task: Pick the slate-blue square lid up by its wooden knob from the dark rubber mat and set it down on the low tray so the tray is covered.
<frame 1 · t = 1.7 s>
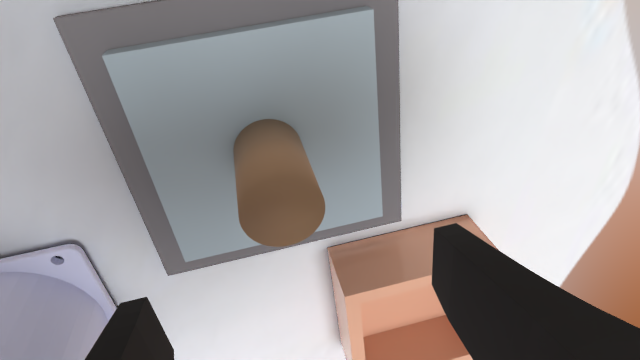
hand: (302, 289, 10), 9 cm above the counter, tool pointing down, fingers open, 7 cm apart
tray: (399, 282, 25), on the counter
mat: (265, 138, 18), on the counter
lid: (266, 142, 18), resting on mat
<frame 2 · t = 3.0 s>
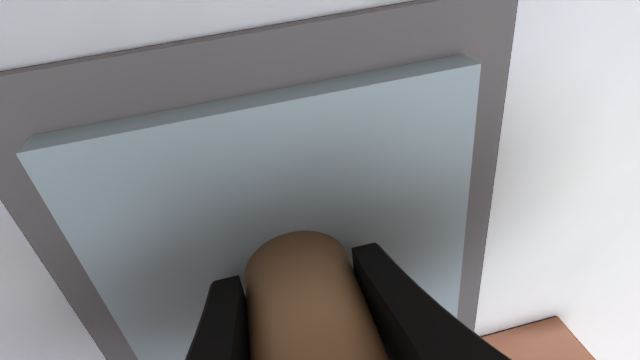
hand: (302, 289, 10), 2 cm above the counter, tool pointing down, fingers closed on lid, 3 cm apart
mat: (291, 243, 12), on the counter
lid: (293, 252, 12), resting on mat, touching gripper
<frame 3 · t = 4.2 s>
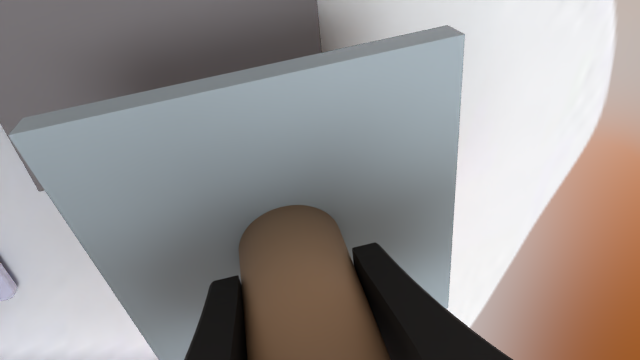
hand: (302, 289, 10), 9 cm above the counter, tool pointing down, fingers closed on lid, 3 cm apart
mat: (145, 9, 14), on the counter
lid: (286, 227, 12), point 7 cm above the counter, touching gripper
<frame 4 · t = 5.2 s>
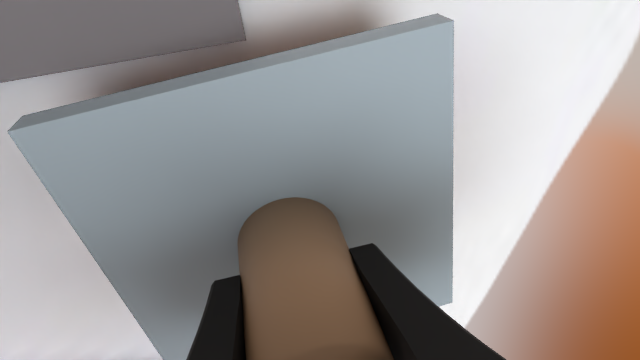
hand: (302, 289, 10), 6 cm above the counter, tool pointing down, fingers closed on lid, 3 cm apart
lid: (285, 222, 12), point 4 cm above the counter, touching tray, gripper
when the fingers open (6 cm above the counter, at t = 5.4 s): lid stays where it is, resting on tray.
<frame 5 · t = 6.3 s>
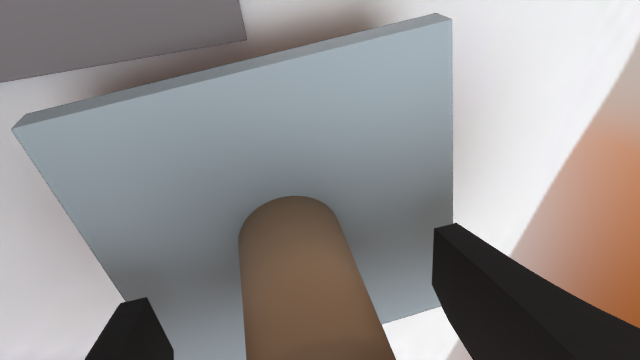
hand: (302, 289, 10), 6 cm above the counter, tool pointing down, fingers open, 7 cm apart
lid: (286, 221, 12), point 3 cm above the counter, touching tray
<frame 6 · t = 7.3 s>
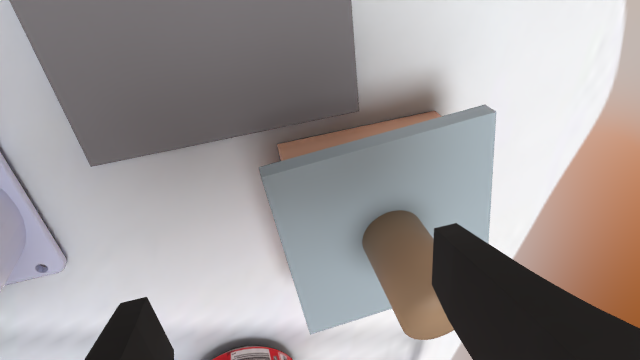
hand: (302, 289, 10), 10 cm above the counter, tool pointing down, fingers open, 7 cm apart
tray: (362, 194, 22), on the counter
lid: (385, 225, 19), point 3 cm above the counter, touching tray
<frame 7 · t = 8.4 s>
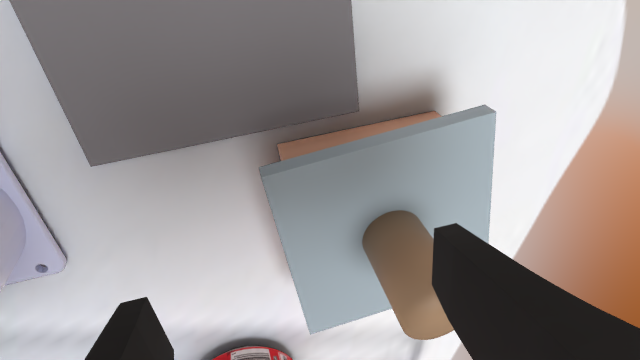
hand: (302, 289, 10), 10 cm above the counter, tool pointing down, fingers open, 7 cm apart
tray: (362, 194, 22), on the counter
lid: (385, 225, 19), point 3 cm above the counter, touching tray
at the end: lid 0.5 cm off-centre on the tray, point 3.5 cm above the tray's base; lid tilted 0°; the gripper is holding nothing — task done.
